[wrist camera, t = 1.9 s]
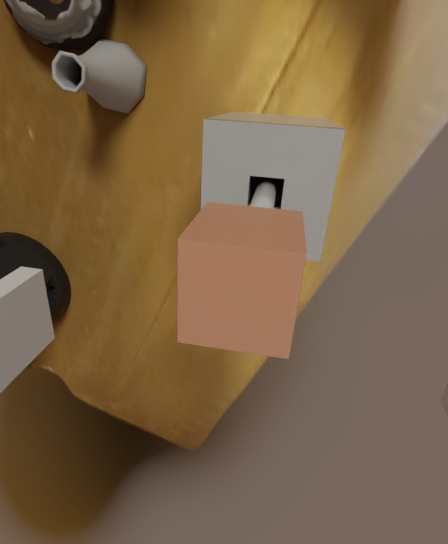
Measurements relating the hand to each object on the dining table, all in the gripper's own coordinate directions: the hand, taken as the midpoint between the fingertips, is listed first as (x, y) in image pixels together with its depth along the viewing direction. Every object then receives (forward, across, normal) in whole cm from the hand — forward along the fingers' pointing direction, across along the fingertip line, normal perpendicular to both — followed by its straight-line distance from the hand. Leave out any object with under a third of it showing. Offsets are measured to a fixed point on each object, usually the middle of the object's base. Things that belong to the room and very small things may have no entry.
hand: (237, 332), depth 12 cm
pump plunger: (+22, 0, 0) cm, 22 cm away
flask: (+34, +19, -8) cm, 40 cm away
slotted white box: (+34, 0, 0) cm, 34 cm away
